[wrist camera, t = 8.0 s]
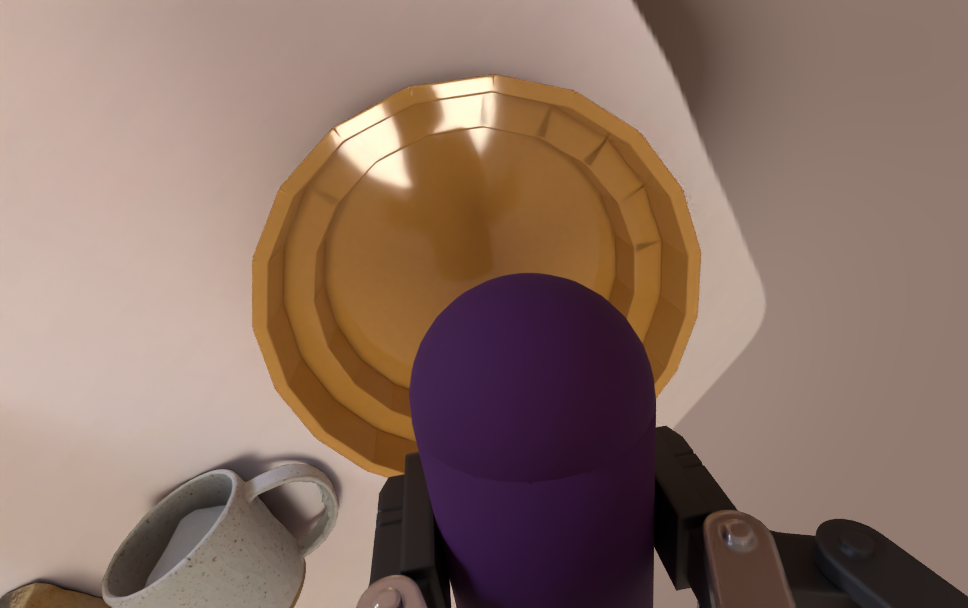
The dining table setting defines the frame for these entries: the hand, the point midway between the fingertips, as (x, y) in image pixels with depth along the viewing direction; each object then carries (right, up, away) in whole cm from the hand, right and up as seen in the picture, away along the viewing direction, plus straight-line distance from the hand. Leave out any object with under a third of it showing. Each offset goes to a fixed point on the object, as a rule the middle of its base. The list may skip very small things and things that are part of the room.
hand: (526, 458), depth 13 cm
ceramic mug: (-16, -8, +18) cm, 25 cm away
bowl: (-2, +6, +13) cm, 15 cm away
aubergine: (0, 0, +1) cm, 1 cm away
